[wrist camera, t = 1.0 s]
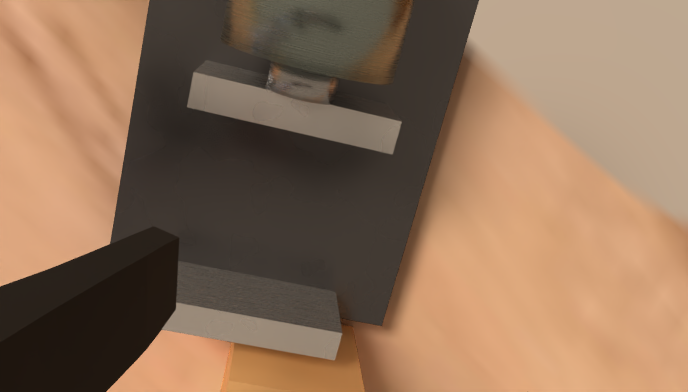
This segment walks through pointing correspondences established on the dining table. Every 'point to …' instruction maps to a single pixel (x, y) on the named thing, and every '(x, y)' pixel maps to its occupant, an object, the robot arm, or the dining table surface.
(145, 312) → the robot arm
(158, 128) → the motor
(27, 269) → the dining table surface
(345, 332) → the orange block with dome
